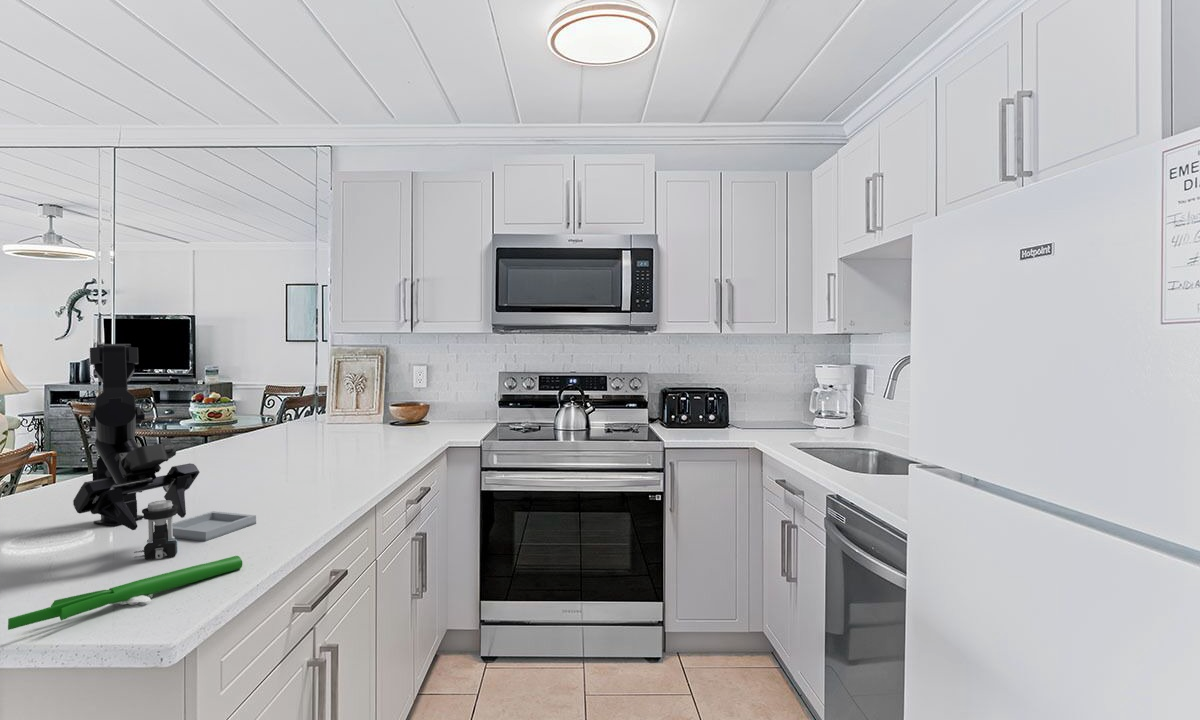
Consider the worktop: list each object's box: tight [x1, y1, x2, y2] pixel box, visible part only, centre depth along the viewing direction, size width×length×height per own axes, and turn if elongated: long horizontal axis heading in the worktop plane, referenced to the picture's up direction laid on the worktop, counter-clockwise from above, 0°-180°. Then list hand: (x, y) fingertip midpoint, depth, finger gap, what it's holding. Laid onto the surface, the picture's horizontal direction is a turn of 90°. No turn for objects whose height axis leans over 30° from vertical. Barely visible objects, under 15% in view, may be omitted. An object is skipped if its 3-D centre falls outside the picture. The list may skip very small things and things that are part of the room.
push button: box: [133, 499, 178, 561], centre depth 111 cm, size 7×5×10 cm
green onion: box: [7, 555, 243, 631], centre depth 92 cm, size 5×3×30 cm
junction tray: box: [167, 510, 257, 542], centre depth 127 cm, size 12×12×2 cm
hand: (160, 522), depth 110 cm, fingers open, 8 cm apart
